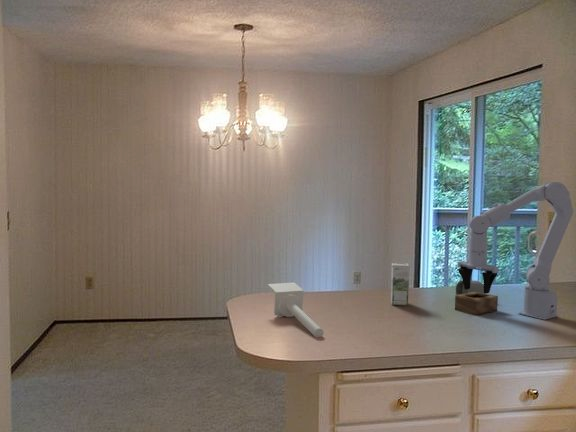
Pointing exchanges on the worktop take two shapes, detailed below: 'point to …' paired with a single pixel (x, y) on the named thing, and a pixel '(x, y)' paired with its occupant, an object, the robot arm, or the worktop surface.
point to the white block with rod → (293, 305)
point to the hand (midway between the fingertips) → (476, 291)
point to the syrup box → (399, 284)
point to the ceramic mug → (474, 287)
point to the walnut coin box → (476, 303)
